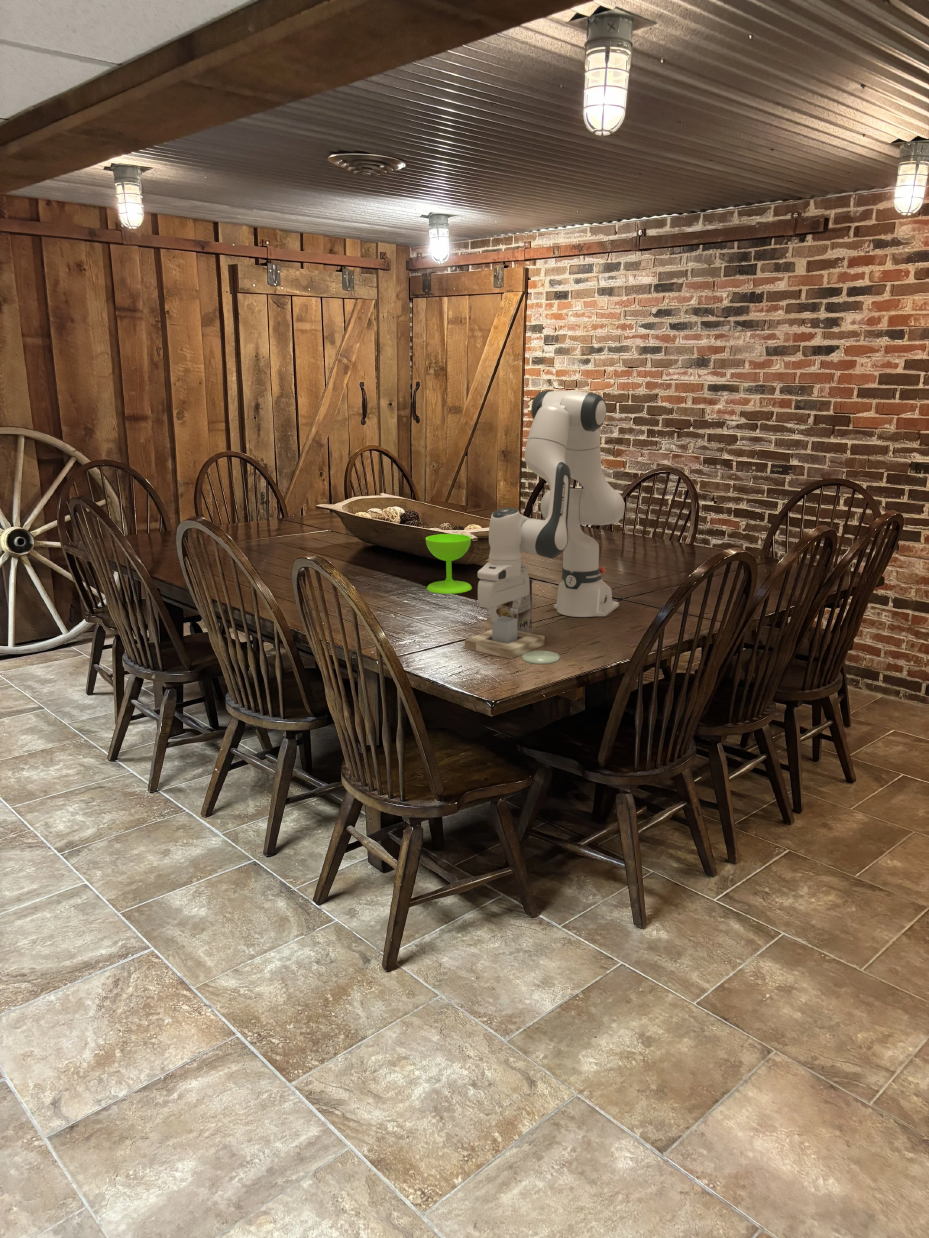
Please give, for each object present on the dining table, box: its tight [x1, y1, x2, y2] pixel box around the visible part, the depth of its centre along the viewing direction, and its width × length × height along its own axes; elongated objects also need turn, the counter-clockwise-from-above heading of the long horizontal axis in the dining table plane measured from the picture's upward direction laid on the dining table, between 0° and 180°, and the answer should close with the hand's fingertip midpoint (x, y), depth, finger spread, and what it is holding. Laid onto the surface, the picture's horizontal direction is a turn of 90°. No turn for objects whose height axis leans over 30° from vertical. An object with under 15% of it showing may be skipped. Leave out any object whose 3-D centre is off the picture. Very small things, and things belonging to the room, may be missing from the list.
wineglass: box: [425, 533, 473, 595], centre depth 321 cm, size 16×16×18 cm
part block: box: [491, 616, 517, 644], centre depth 255 cm, size 5×5×8 cm
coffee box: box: [496, 578, 533, 634], centre depth 267 cm, size 9×6×16 cm
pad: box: [521, 650, 560, 665], centre depth 245 cm, size 10×10×1 cm
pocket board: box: [464, 629, 545, 660], centre depth 256 cm, size 16×16×2 cm
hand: (504, 617), depth 253 cm, fingers open, 8 cm apart
